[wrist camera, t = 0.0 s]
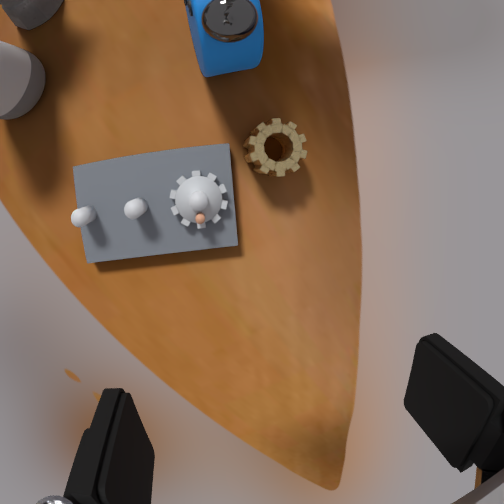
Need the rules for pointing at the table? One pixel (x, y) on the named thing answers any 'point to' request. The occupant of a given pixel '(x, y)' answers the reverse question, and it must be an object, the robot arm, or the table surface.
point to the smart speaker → (19, 81)
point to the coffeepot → (30, 11)
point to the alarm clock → (226, 34)
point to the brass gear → (288, 142)
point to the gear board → (156, 203)
